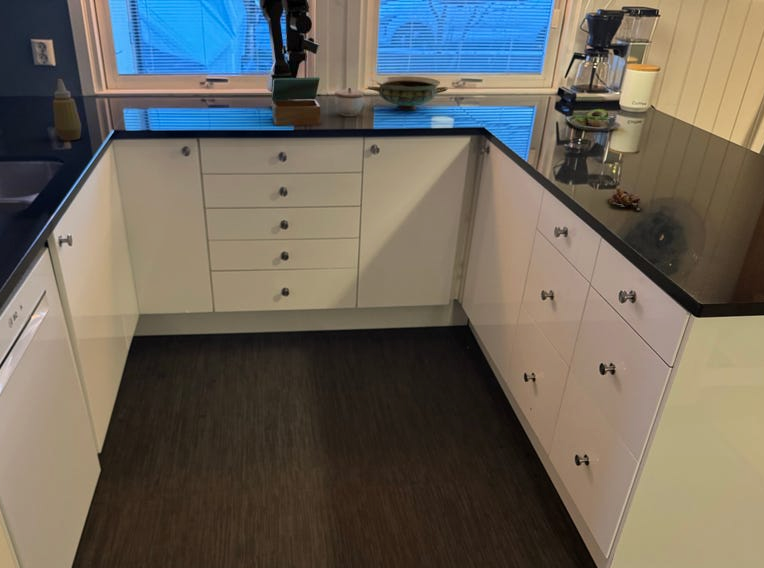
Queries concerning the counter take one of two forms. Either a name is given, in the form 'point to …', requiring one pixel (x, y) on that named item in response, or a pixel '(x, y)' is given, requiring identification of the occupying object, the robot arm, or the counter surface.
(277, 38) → the robot arm
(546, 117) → the counter surface
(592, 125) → the salad plate
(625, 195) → the pastry
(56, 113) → the squeeze bottle
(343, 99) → the trinket box
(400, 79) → the ceramic bowl
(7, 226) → the counter surface
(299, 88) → the lid
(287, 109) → the toy box
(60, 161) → the counter surface
